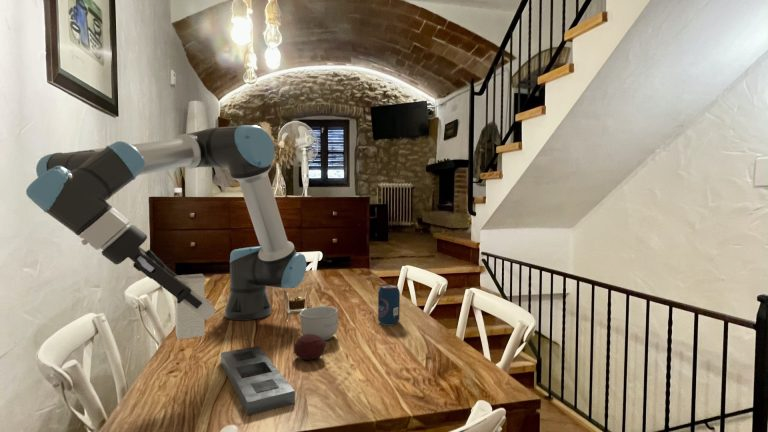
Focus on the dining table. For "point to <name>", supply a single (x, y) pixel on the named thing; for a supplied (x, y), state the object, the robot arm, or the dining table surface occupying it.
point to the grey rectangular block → (186, 317)
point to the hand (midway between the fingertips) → (209, 311)
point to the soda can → (388, 304)
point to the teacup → (319, 321)
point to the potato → (309, 346)
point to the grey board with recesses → (256, 380)
